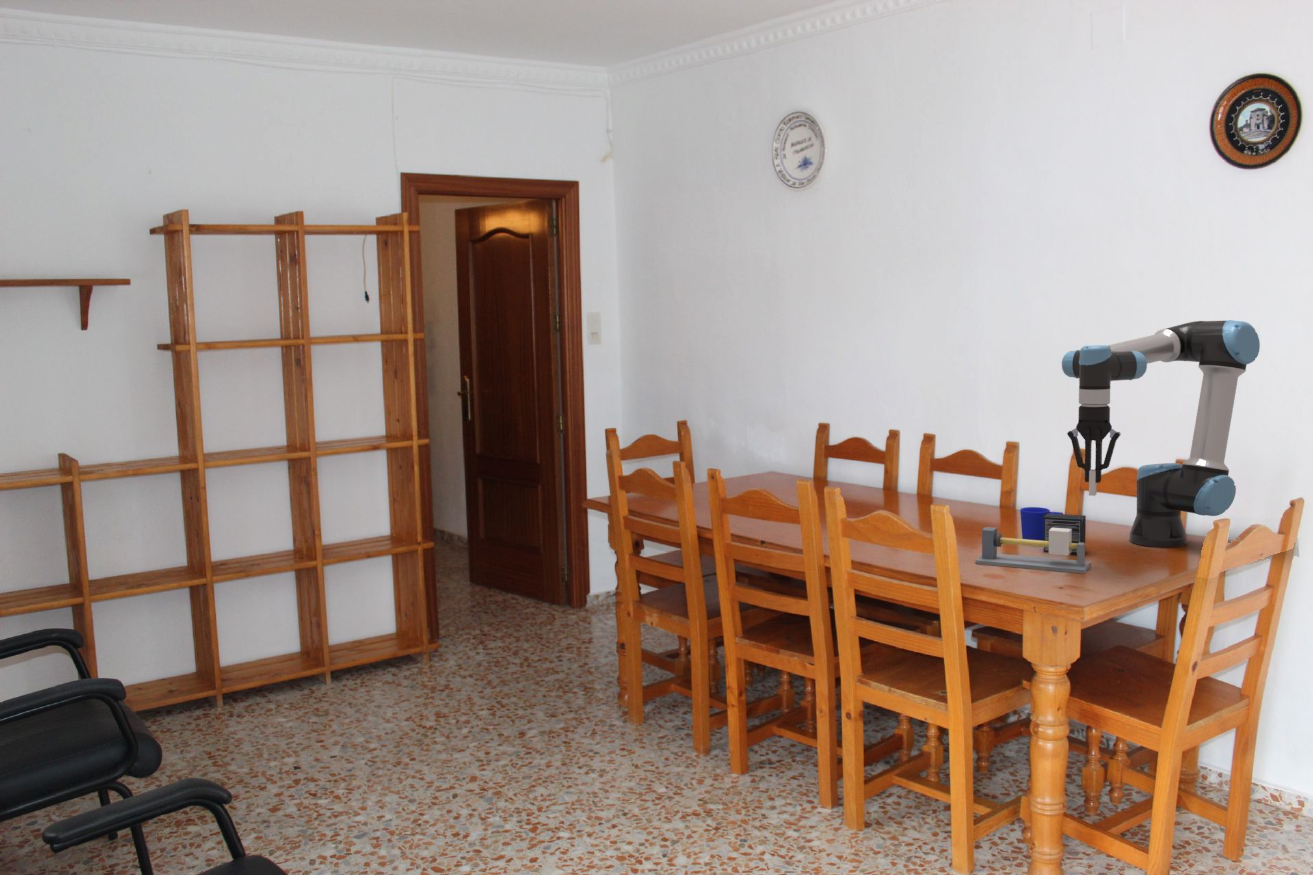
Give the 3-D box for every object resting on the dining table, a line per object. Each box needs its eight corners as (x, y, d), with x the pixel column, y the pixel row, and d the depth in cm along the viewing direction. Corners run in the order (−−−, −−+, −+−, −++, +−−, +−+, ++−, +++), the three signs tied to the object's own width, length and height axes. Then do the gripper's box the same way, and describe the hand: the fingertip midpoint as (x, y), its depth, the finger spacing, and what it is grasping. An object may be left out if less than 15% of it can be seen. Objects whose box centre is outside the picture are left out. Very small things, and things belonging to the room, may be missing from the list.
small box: (1086, 550, 299) (1086, 514, 298) (1082, 555, 294) (1083, 518, 293) (1047, 547, 305) (1047, 512, 304) (1042, 552, 299) (1043, 516, 298)
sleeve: (1071, 552, 282) (1071, 528, 282) (1068, 555, 279) (1068, 531, 278) (1051, 550, 285) (1052, 527, 284) (1048, 553, 281) (1048, 530, 280)
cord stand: (1090, 565, 283) (1091, 532, 282) (1084, 573, 274) (1085, 539, 273) (984, 556, 297) (984, 524, 296) (975, 563, 289) (975, 531, 288)
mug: (1065, 546, 306) (1066, 512, 305) (1022, 545, 308) (1022, 512, 307) (1060, 540, 314) (1061, 507, 313) (1018, 539, 316) (1018, 506, 315)
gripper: (1123, 404, 273) (1121, 493, 276) (1070, 403, 279) (1068, 491, 282) (1119, 406, 266) (1117, 498, 269) (1065, 406, 273) (1063, 495, 276)
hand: (1092, 494), depth 276 cm, fingers closed
